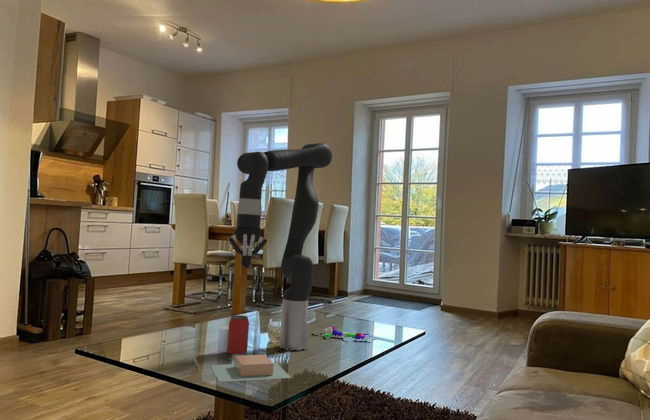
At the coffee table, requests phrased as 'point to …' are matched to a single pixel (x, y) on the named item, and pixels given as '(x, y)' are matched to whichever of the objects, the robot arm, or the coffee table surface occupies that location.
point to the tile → (253, 365)
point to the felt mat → (231, 374)
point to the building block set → (343, 333)
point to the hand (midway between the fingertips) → (245, 267)
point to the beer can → (238, 335)
